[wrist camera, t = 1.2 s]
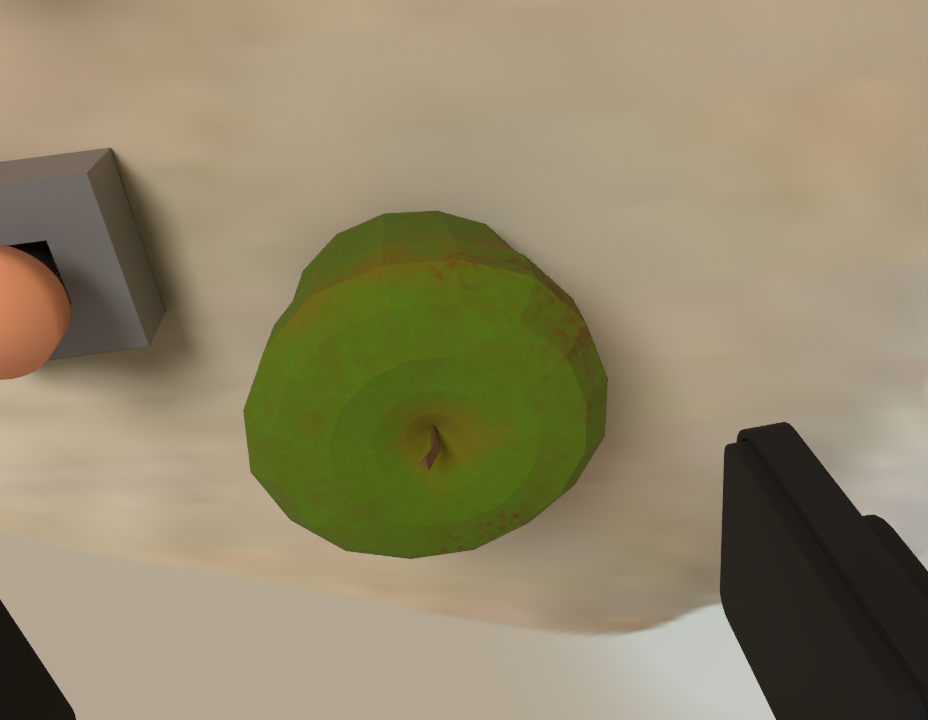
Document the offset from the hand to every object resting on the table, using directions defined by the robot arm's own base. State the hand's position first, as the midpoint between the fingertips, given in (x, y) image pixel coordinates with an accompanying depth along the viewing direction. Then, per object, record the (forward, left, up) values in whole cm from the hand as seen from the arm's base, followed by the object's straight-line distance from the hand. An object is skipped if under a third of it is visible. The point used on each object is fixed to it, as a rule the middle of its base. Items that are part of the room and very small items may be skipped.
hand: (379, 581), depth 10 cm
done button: (+3, -13, -22) cm, 26 cm away
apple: (+8, +1, -24) cm, 25 cm away
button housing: (+3, -13, -24) cm, 27 cm away
